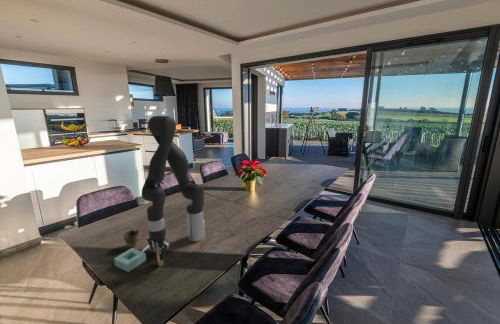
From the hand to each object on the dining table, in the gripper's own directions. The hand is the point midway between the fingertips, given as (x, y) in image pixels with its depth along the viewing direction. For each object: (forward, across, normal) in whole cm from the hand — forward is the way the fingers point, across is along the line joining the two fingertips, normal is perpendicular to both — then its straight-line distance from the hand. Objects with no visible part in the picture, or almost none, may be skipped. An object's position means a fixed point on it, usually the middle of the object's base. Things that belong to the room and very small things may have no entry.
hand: (160, 258), depth 115 cm
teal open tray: (+3, +14, +6) cm, 16 cm away
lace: (+3, +17, -5) cm, 18 cm away
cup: (+3, +26, -4) cm, 27 cm away
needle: (+3, 0, 0) cm, 3 cm away
